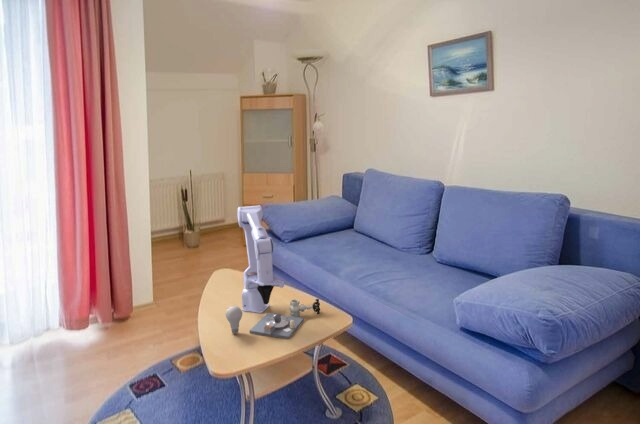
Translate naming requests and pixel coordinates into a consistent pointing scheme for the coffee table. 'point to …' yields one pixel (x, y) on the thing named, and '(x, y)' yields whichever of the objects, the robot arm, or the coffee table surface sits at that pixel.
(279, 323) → the silver lidded pan
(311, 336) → the coffee table surface
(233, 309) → the lightbulb
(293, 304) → the valve
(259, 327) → the board
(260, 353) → the coffee table surface
